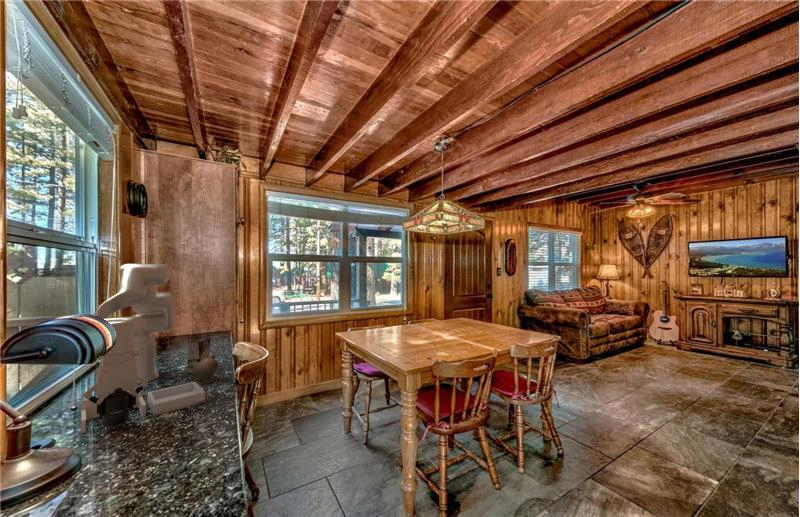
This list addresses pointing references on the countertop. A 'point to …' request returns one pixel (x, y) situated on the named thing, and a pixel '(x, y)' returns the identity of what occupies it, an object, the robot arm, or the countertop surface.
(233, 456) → the countertop surface
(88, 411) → the bay
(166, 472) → the countertop surface
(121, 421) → the black boxy piece
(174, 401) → the tray
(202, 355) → the coffee box
